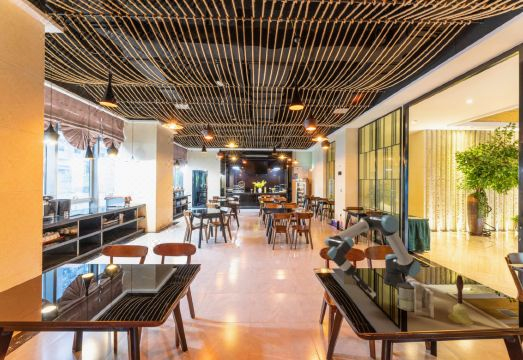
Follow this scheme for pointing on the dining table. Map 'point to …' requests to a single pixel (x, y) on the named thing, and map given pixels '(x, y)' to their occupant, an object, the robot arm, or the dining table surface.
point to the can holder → (422, 298)
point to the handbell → (460, 306)
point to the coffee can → (405, 296)
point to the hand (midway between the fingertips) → (374, 295)
